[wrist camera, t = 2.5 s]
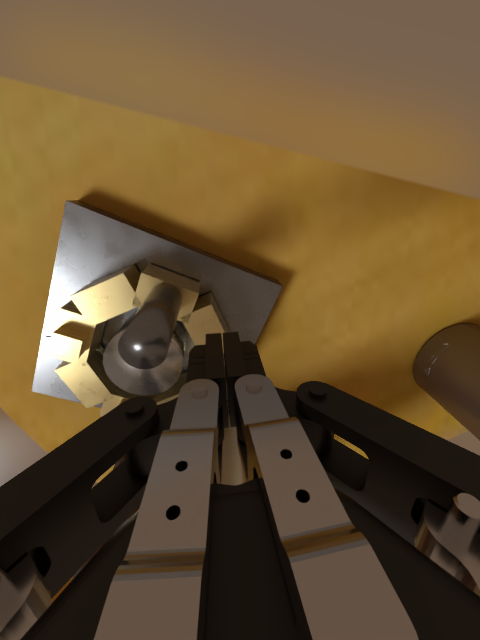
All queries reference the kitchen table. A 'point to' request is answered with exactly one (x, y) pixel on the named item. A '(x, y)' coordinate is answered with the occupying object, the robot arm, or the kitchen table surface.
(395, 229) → the kitchen table surface
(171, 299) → the tan block ring
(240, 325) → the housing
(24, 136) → the kitchen table surface
